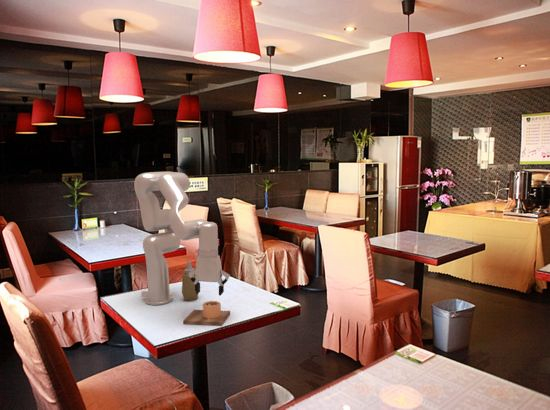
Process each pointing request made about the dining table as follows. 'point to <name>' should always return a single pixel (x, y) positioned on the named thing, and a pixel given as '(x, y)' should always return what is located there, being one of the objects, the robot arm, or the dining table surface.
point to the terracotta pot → (211, 309)
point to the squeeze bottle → (188, 284)
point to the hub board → (198, 318)
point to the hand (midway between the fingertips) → (209, 293)
